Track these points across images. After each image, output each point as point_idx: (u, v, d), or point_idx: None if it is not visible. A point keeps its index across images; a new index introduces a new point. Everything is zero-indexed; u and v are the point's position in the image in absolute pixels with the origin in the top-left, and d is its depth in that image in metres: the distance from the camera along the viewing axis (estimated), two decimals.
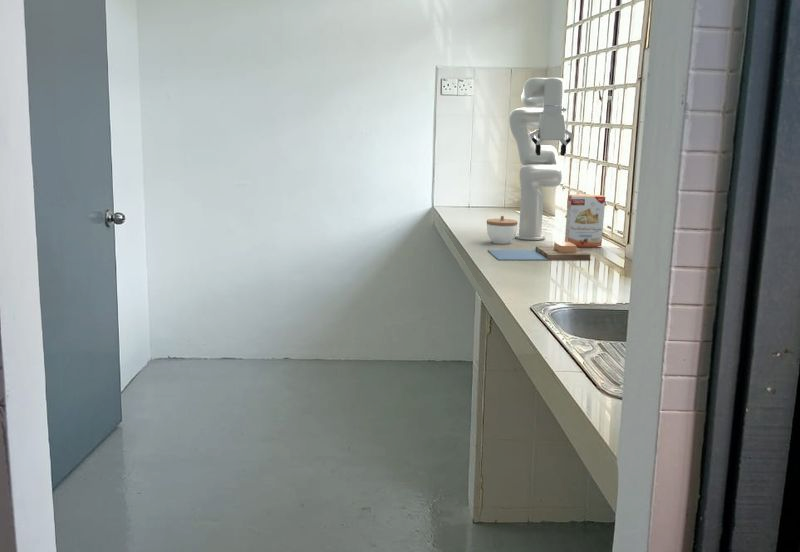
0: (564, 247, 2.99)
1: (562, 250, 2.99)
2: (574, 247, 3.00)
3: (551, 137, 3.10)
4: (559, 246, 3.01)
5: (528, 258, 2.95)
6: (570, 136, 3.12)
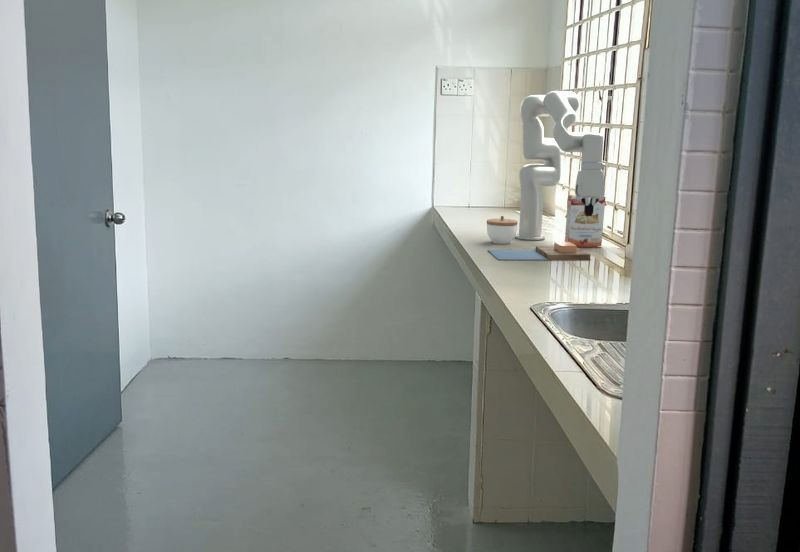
0: (564, 247, 2.99)
1: (562, 250, 2.99)
2: (574, 247, 3.00)
3: (590, 194, 2.98)
4: (559, 246, 3.01)
5: (528, 258, 2.95)
6: (600, 198, 3.00)
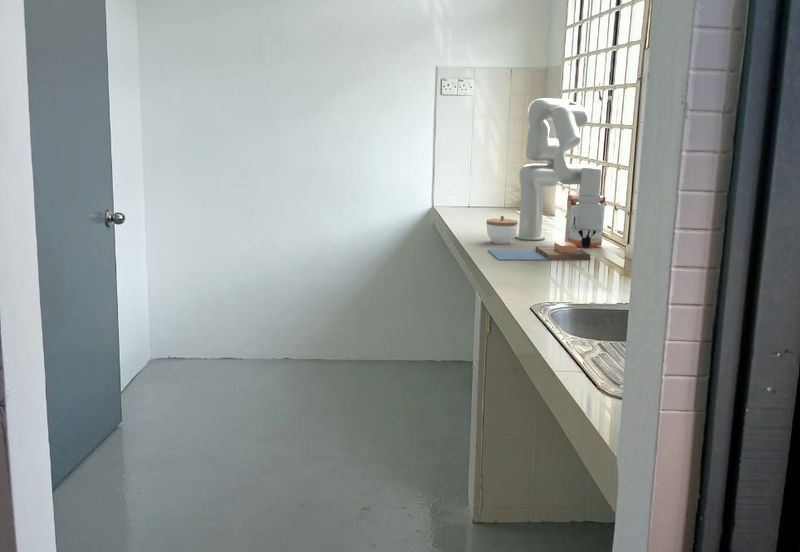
0: (564, 247, 2.99)
1: (562, 250, 2.99)
2: (574, 247, 3.00)
3: (587, 227, 3.01)
4: (559, 246, 3.01)
5: (528, 258, 2.95)
6: (597, 230, 3.03)
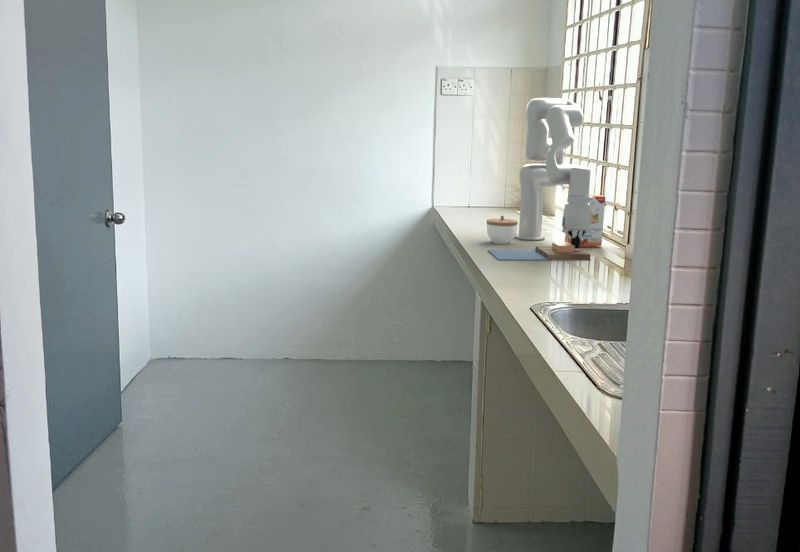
0: (562, 247, 2.99)
1: (560, 250, 2.99)
2: (572, 247, 2.99)
3: (576, 227, 3.01)
4: (557, 246, 3.01)
5: (528, 258, 2.95)
6: (586, 230, 3.03)
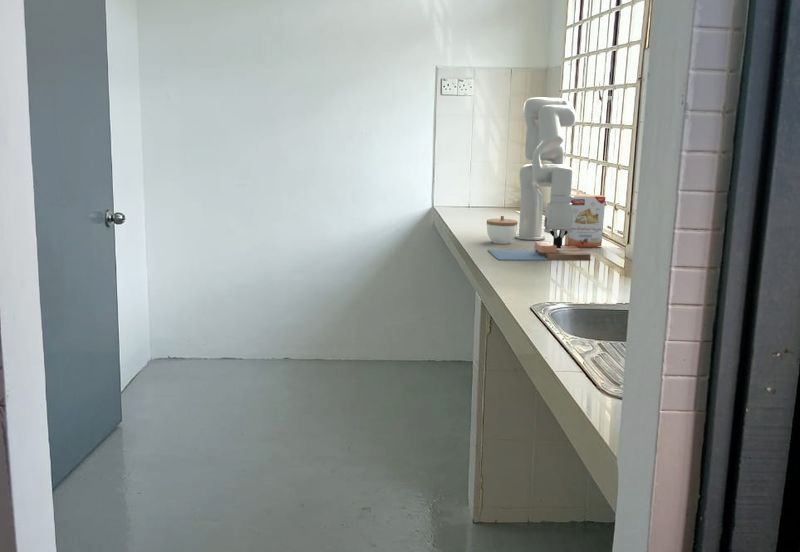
0: (544, 247, 2.98)
1: (542, 250, 2.98)
2: (554, 247, 2.99)
3: (558, 227, 3.00)
4: (539, 246, 3.00)
5: (528, 258, 2.95)
6: (569, 230, 3.02)
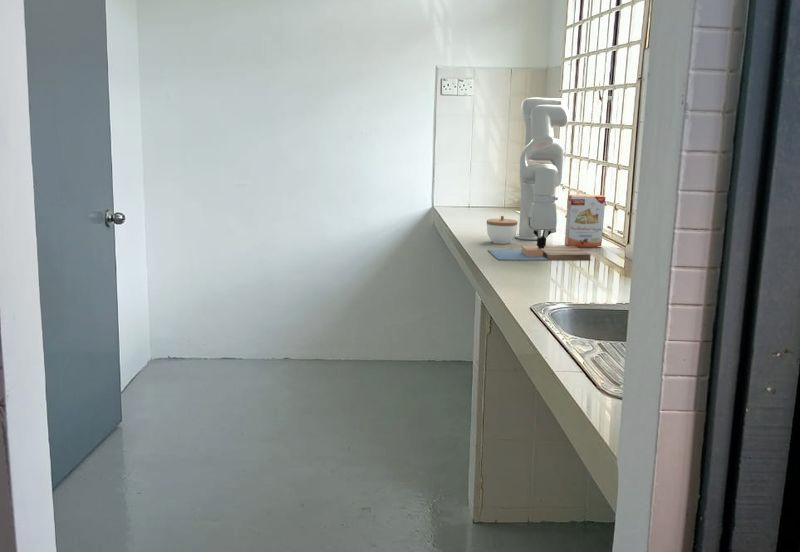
0: (530, 251, 2.98)
1: (528, 254, 2.98)
2: (540, 251, 2.98)
3: (542, 227, 2.99)
4: (526, 250, 3.00)
5: (528, 258, 2.95)
6: (552, 230, 3.02)
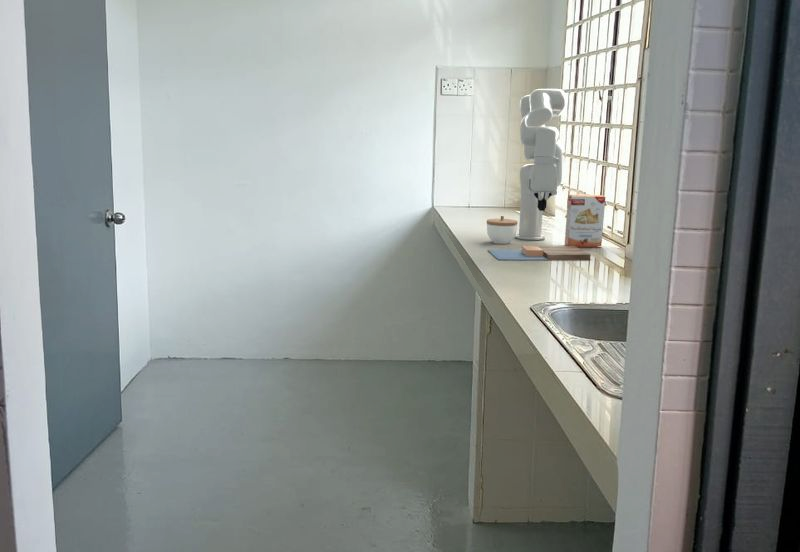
0: (530, 251, 2.98)
1: (528, 254, 2.98)
2: (540, 251, 2.98)
3: (542, 189, 2.97)
4: (526, 250, 3.00)
5: (528, 258, 2.95)
6: (553, 192, 2.99)
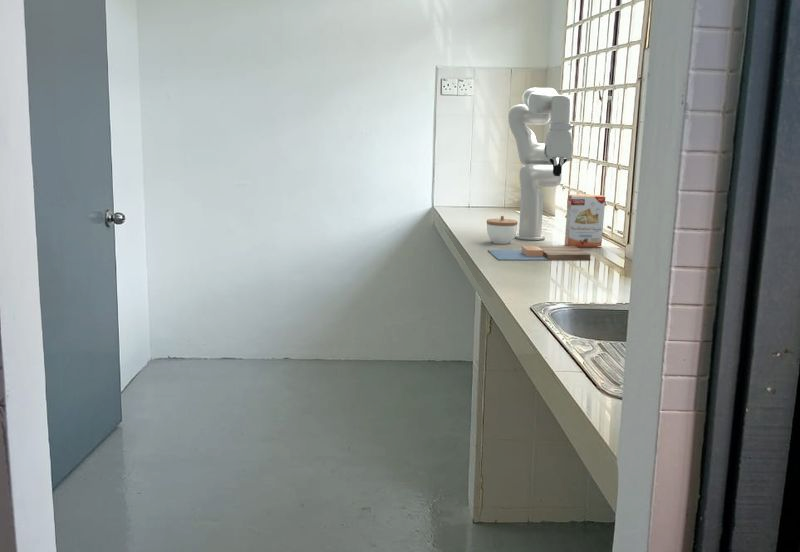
0: (530, 251, 2.98)
1: (528, 254, 2.98)
2: (540, 251, 2.98)
3: (558, 154, 3.07)
4: (526, 250, 3.00)
5: (528, 258, 2.95)
6: (568, 158, 3.10)
